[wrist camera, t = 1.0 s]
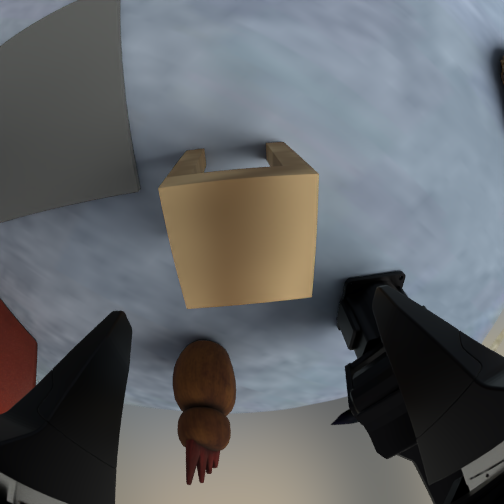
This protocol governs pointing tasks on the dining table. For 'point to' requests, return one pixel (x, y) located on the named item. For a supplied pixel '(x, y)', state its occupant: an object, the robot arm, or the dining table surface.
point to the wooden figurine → (204, 404)
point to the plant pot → (15, 360)
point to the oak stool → (242, 229)
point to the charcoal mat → (64, 112)
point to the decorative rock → (503, 66)
